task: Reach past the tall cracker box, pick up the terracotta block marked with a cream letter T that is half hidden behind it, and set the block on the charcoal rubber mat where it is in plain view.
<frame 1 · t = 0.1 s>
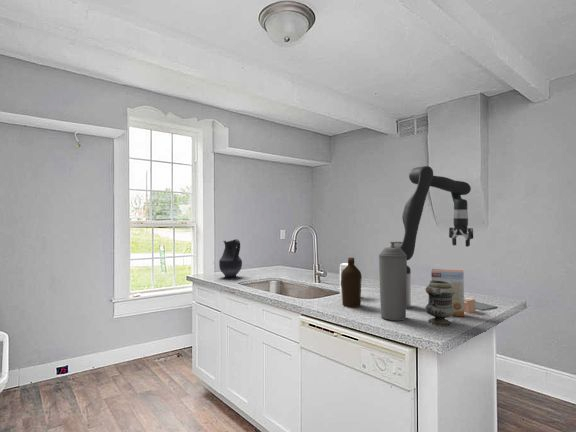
hand: (460, 245, 207), 29 cm above the worktop, tool pointing down, fingers open, 8 cm apart
lettered block: (467, 311, 177), on the worktop
pitcher: (232, 278, 277), on the worktop
canister: (393, 318, 166), on the worktop
charcoal mat: (478, 306, 185), on the worktop
cracker box: (447, 314, 172), on the worktop
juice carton: (348, 296, 212), on the worktop
apothecary jar: (440, 323, 158), on the worktop
olive oil: (351, 305, 190), on the worktop
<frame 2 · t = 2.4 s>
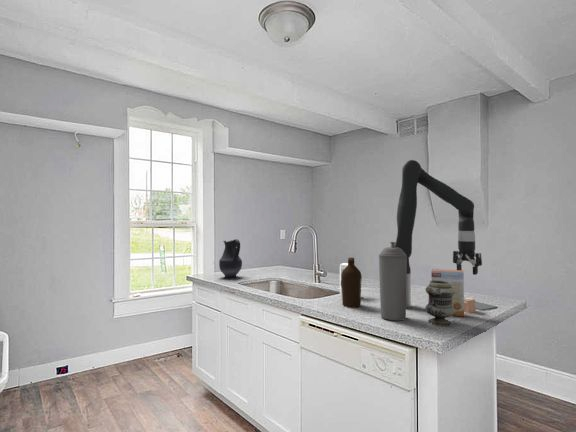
hand: (467, 273, 177), 18 cm above the worktop, tool pointing down, fingers open, 8 cm apart
nothing on the worktop moved.
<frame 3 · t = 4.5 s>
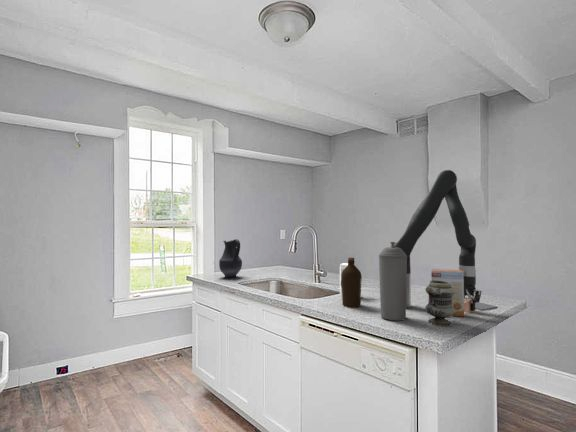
hand: (467, 309, 177), 1 cm above the worktop, tool pointing down, fingers closed on lettered block, 5 cm apart
lettered block: (467, 311, 177), on the worktop, touching gripper
everything else where it was.
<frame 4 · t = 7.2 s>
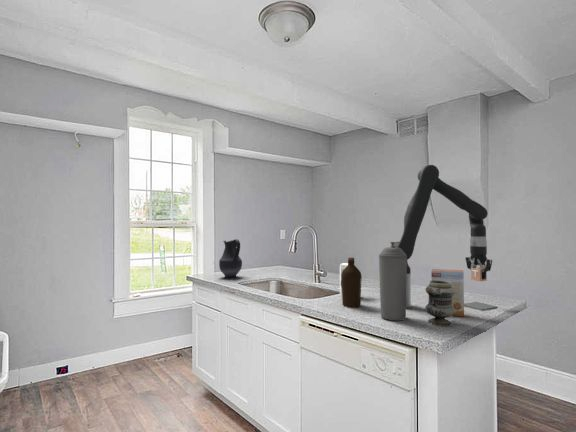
hand: (478, 278, 185), 14 cm above the worktop, tool pointing down, fingers closed on lettered block, 5 cm apart
lettered block: (478, 280, 185), point 14 cm above the worktop, touching gripper
everything else where it was.
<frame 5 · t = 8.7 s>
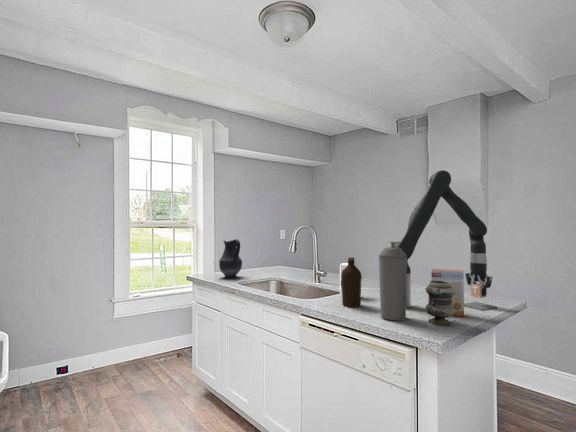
hand: (478, 294, 185), 6 cm above the worktop, tool pointing down, fingers closed on lettered block, 5 cm apart
lettered block: (478, 296, 185), point 5 cm above the worktop, touching gripper
everything else where it was.
when the fingers open (3 cm above the worktop, at t = 9.8 s): lettered block drops 1 cm, resting on charcoal mat.
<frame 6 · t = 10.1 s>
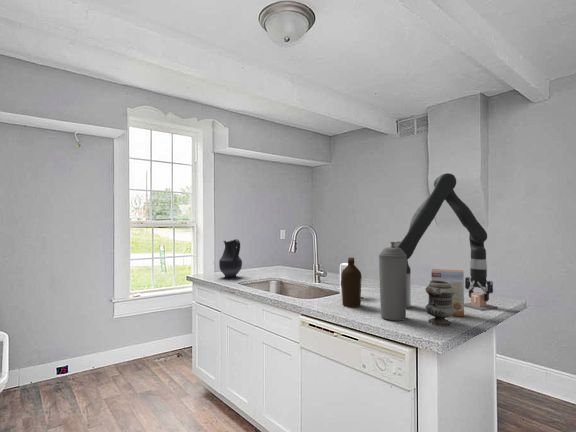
hand: (478, 299, 185), 4 cm above the worktop, tool pointing down, fingers open, 8 cm apart
lettered block: (478, 305, 185), point 1 cm above the worktop, touching charcoal mat
everything else where it was.
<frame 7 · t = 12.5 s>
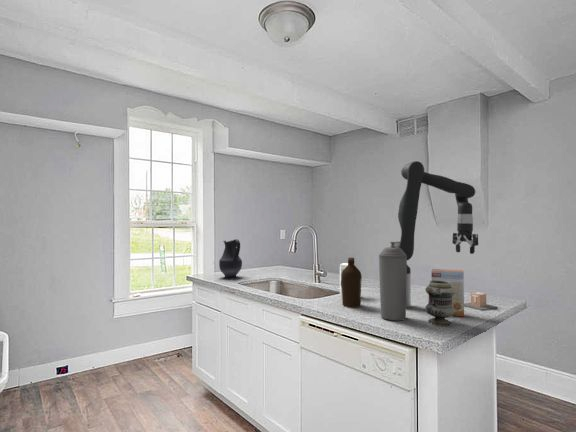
hand: (464, 252, 193), 27 cm above the worktop, tool pointing down, fingers open, 8 cm apart
nothing on the worktop moved.
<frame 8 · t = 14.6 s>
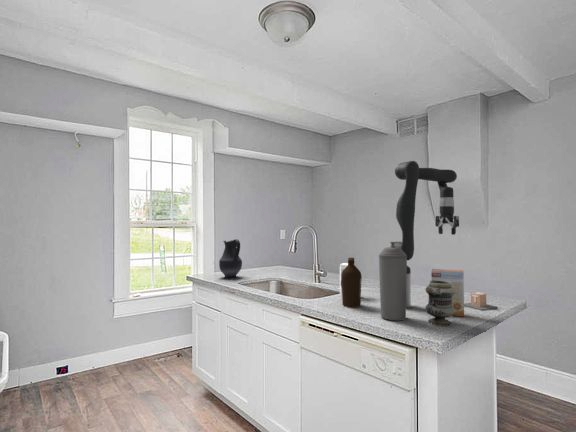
hand: (447, 234, 205), 36 cm above the worktop, tool pointing down, fingers open, 8 cm apart
nothing on the worktop moved.
at the end: lettered block inside the target area on the charcoal mat (0.1 cm from its centre), point 0.6 cm above the charcoal mat's base; lettered block tilted 0°; cracker box moved 0.2 cm from its start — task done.
